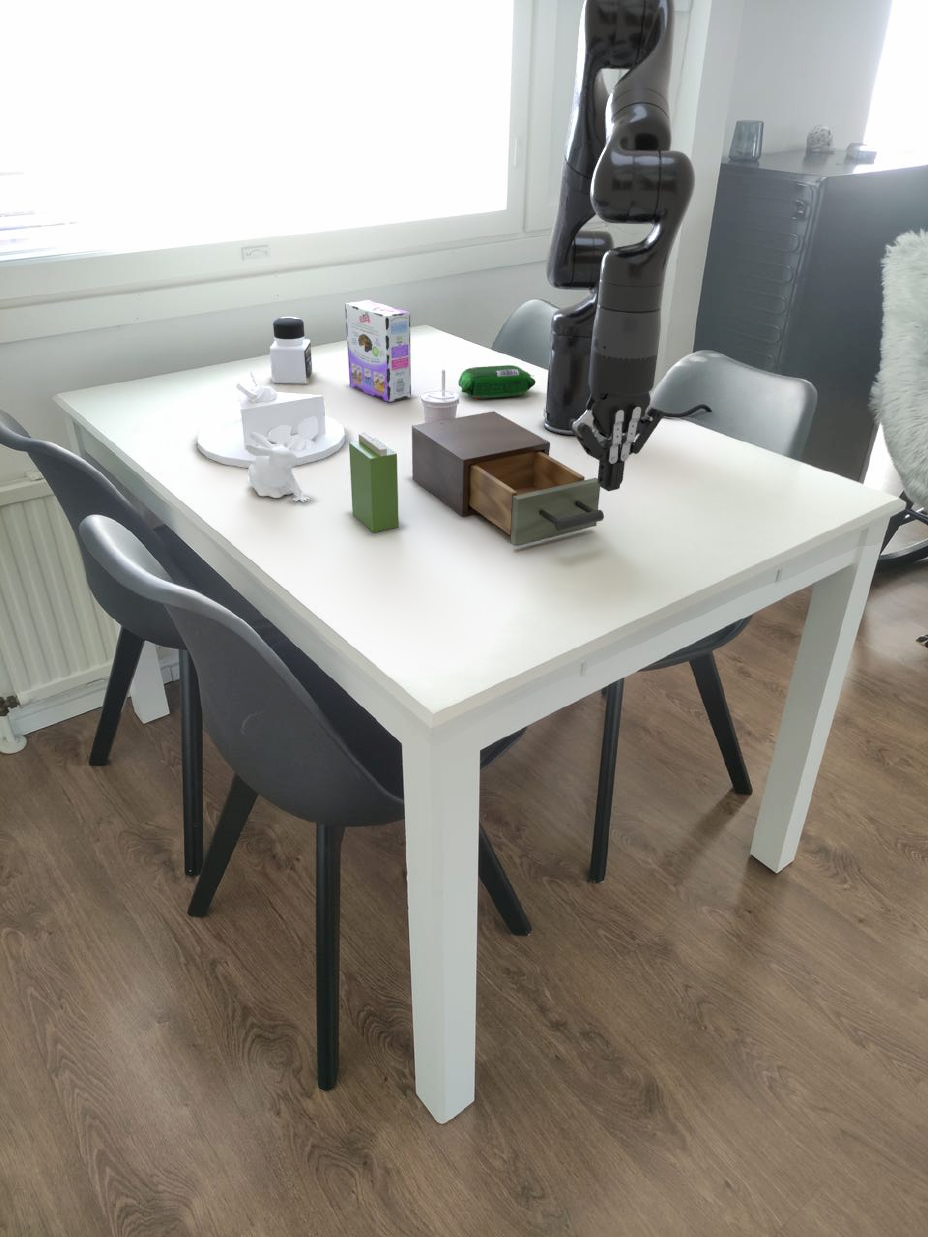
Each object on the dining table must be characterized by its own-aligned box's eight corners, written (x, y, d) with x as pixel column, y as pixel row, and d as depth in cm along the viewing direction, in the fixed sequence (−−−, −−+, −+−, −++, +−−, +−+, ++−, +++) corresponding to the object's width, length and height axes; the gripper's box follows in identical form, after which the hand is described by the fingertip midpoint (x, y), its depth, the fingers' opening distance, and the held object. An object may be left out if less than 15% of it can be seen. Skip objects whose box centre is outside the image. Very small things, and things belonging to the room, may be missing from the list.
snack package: (539, 398, 180) (541, 371, 177) (462, 402, 177) (463, 375, 174) (529, 387, 186) (530, 361, 183) (454, 391, 183) (454, 365, 180)
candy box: (412, 397, 179) (411, 311, 170) (388, 403, 175) (386, 315, 167) (371, 380, 187) (368, 297, 179) (347, 386, 184) (343, 301, 176)
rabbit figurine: (311, 501, 136) (306, 439, 131) (264, 513, 133) (257, 449, 127) (275, 475, 145) (270, 415, 139) (230, 485, 141) (223, 425, 136)
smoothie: (454, 460, 151) (455, 376, 144) (416, 457, 152) (415, 373, 145) (462, 447, 156) (463, 365, 149) (425, 443, 157) (425, 362, 150)
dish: (196, 472, 145) (186, 403, 139) (201, 420, 166) (192, 357, 160) (351, 463, 149) (348, 395, 143) (337, 413, 170) (334, 352, 164)
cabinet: (546, 497, 139) (550, 442, 134) (462, 516, 133) (463, 459, 128) (492, 462, 151) (493, 410, 146) (412, 479, 144) (411, 425, 140)
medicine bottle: (307, 384, 185) (303, 323, 178) (272, 383, 185) (266, 322, 178) (312, 373, 191) (308, 314, 185) (278, 373, 191) (273, 314, 185)
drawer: (620, 541, 125) (625, 494, 121) (537, 563, 119) (540, 515, 115) (538, 489, 139) (541, 446, 136) (461, 506, 133) (462, 462, 130)
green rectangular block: (352, 514, 133) (348, 435, 126) (377, 508, 135) (374, 430, 128) (373, 532, 128) (370, 451, 121) (398, 527, 129) (397, 446, 123)
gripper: (598, 362, 98) (584, 509, 107) (691, 347, 104) (670, 489, 113) (557, 345, 104) (547, 487, 113) (648, 332, 109) (632, 468, 118)
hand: (609, 487), depth 113 cm, fingers closed
